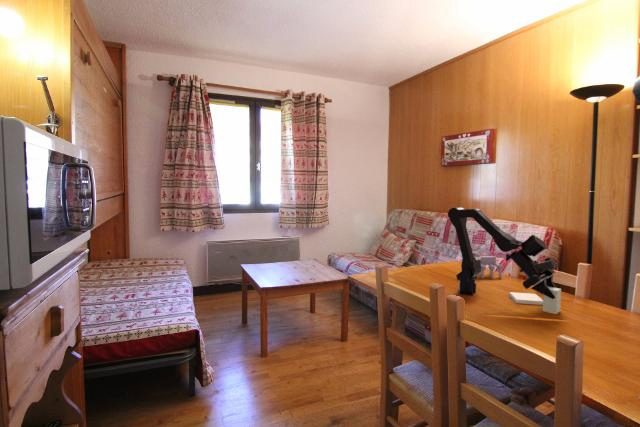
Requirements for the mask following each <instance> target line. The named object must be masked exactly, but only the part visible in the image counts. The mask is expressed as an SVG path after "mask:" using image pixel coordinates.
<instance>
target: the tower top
mask: <svg viewBox="0 0 640 427" xmlns="http://www.w3.org/2000/svg"><path fill="white" fill-rule="evenodd" d="M509 295H510V297H511V298H512V299H513V300H514V301H515V302H516V303H522V304H521V305H523V304H536V305H535V306H539V305H543V298H542V297H540V296H538V295H537V294H536V293H528V292H527V293H526V292H512V291H511V292H510V291H509Z"/></svg>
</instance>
